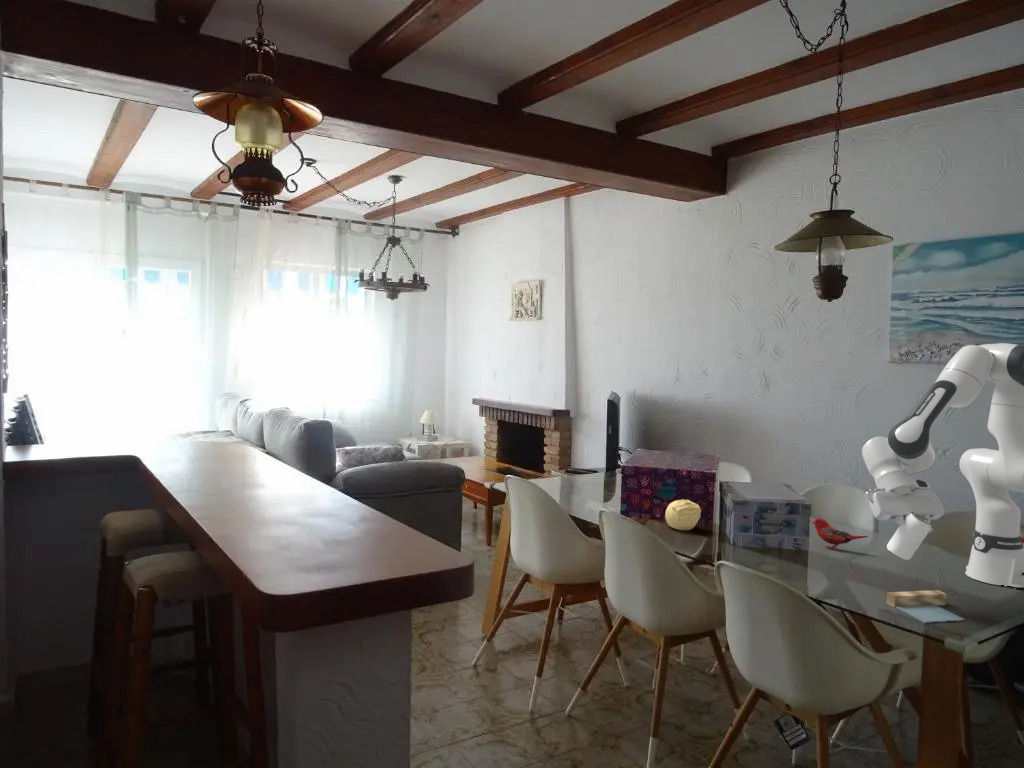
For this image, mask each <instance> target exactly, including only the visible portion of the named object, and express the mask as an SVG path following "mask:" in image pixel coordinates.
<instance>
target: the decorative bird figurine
mask: <svg viewBox="0 0 1024 768" xmlns="http://www.w3.org/2000/svg"><path fill="white" fill-rule="evenodd" d="M811 524H813V525H814V528H815V530H816V533H817V535H818V536H819V538H820V539H821V540H823V541H824V542H825V543H827V544H830V545H824V546H825V548H827V547H832V548H831V549H833V548H837V549H838V547H837V546H839V545H843V544H847V543H848V544H849V543H850V542H851V541H854V540H857V539H863V538H868V536H867V535H851V534H850V533H848V532H847V531H844V530H842V529H841V528H837V527H835V526H833V525H831V524H829V522H828V521H826V520H825V519H823V518H821V517H816V518H815V519H814V520H813V521H812V522H811Z"/></svg>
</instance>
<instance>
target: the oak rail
mask: <svg viewBox="0 0 1024 768" xmlns="http://www.w3.org/2000/svg"><path fill="white" fill-rule="evenodd" d="M886 604H887V605H889V606H891V607H892V608H896V607H899V606H920V605H936V606H946V605H947V593H945V592H943V591H940V590H937V589H935V590H934V589H933V590H932V589H931V590H913V591H912V590H911V591H908V590H907V591H887V592H886Z"/></svg>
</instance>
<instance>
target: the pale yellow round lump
mask: <svg viewBox="0 0 1024 768" xmlns="http://www.w3.org/2000/svg"><path fill="white" fill-rule="evenodd" d="M701 513H702V509H701V507H700V506H699V504H698V503H695V502H693V501H691V500H689V499H678V500H674V501H672V502H670V503H669V504H668V506H667V507H666V510H665V514H664V517H665V520H666V523H667V524H668V526H669V527H671V528H673V529H675V530H678V531H691V530H692V529H694V528H695V527H696V525H697V523H698V522H699V520H700V519H701V517H702V516H701Z"/></svg>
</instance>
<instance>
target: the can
mask: <svg viewBox="0 0 1024 768" xmlns="http://www.w3.org/2000/svg"><path fill="white" fill-rule="evenodd" d="M913 513H915V512H911V514H909V515H907V516H906V518H905V519H904V521H905V525H902V526H901V527H900V526H899V525H898V527H897V530H896V531H895V532H894V533H893V535H892V537H891V538H890V540H889V541H888V543H887V544H886V549H887V550H888V551H889V552H890V554H892V555H893V556H895V557H897V558H899V559H901V560H904V561H909V560H910V559H911V558H912V557H913V555H914V554H915V553H916V551H918V548H919V547H920V546H921V544H922V543H923V542H924V540H925V539H926V537H927V535H928V534H929V533H928V532H929V531H930V527H932V525H933V524H932V521H931V522H930V521H929V520H928V519H926V518H925V517H923V516H921V515H919V514H917V515H916V514H913Z"/></svg>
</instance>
